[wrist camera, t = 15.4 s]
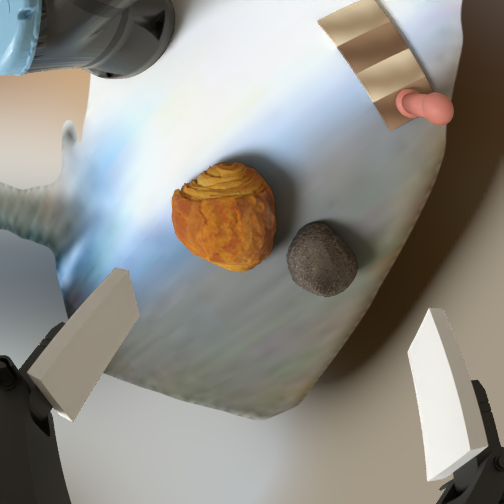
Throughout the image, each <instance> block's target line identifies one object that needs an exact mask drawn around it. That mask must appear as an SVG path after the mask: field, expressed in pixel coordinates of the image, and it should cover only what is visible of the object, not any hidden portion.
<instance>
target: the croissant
mask: <svg viewBox="0 0 504 504" xmlns="http://www.w3.org/2000/svg"><path fill="white" fill-rule="evenodd" d="M172 222H173V226H174V229H175V233H176V235H177V237H178V239H179V240H180V241H181V242H182V243H183V244H184V245H185V246H186V247H187V248H188V249H189V250H190V251H191V252H192V253H193V254H194V255H197V256H199V257H200V258H202V259H205V260H207V261H209V262H212V263H213V264H216V265H218V266H220V267H224V268H225V269H227V270H230V271H234V272H244V271H247V270H250V269H253V268H254V267H255V266H256V265H258V264H260V263H261V261H263V260H264V259H265V258H267V257H268V256H269V255H270V253H271V251H272V247H273V237H274V236H275V233H276V228H277V220H276V216H275V200H274V196H273V194H272V191H271V188H270V186H269V185H268V184H267V183H266V182H265V180H264V179H263V177H261V175H260V174H259V173H258V172H257V171H256V170H255V169H253V168H251V167H248V166H244V164H242V163H239V162H237V163H234V164H232V163H221V164H216V165H214V166H213V167H211V166H210V167H209V169H208V170H206V171H204V172H203V173H201V174H200V175H199V177H198V178H197V179H194V180H192V181H191V182H190V183H187V184H186V183H184V186H182V189H181V190H179V189H177V190H175V191H174V194H173V197H172Z"/></svg>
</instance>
